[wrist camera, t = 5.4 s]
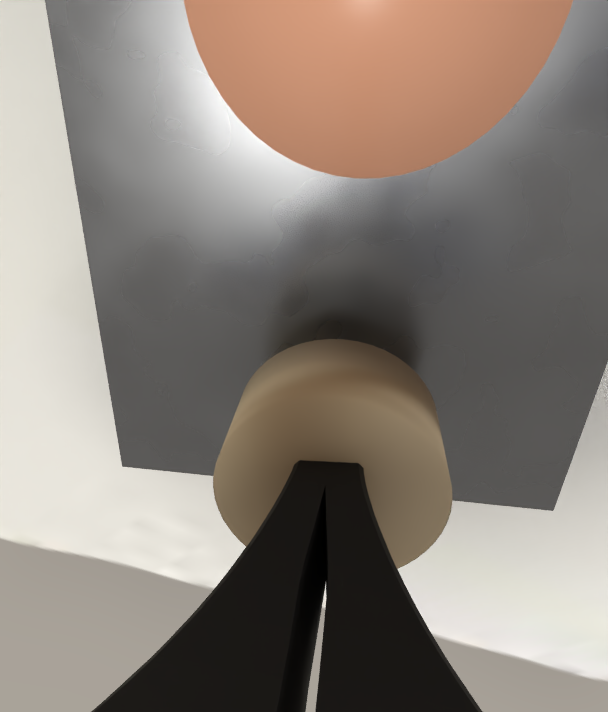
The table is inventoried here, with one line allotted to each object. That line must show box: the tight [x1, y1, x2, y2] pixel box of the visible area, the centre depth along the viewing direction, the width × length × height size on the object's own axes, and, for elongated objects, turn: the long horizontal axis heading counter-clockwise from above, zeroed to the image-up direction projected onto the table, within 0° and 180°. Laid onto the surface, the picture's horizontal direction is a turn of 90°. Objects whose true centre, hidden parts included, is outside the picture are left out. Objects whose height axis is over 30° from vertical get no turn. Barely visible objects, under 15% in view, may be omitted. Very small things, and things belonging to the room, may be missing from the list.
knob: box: [213, 339, 452, 569], centre depth 12 cm, size 5×5×2 cm
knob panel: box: [45, 0, 608, 511], centre depth 12 cm, size 14×26×2 cm, turn 178°
